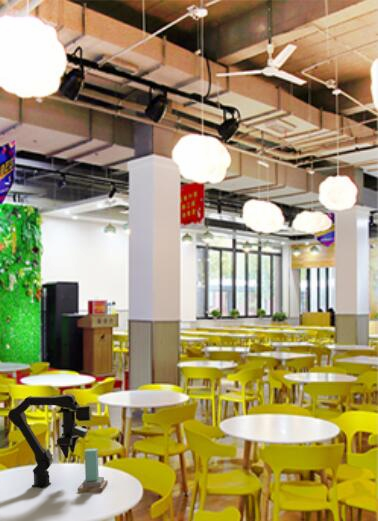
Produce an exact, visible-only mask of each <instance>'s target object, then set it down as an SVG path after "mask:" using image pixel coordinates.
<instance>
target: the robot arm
mask: <svg viewBox="0 0 378 521" xmlns="http://www.w3.org/2000/svg"><path fill="white" fill-rule="evenodd" d="M31 406H57V407H59V408H60V409H59V410H58V411H57V413H58V414H59V413H60V414H62V424H61V428H62V433H61V436H59V437H58V438H57V440H56V444H57V445H58V447H59V448H60V450H61V453H62V454H63V456H64V458H65V459H68V458H69V453H70V452H71V454H74V453H75V449H76V445H77V441H78V439H79V438H81V439H84V438H85V437H87V435H88V434H87V433H88V432H89V431H88V426H87V424H86V425H85V424H82V426H79V425H78V423H77V422H76V420H77V421H78V422H89V421H91V420H92V411H91V405H86V406H80V404H79V403H78V402H77V401H76V397H75V395H74V394H72V393H66V394H61V395H56V396H53V395H52V396H33V395H32V396H31V395H28V396H26V397H25V398H24V400H23V401H22V402H20V404H18V405H17V406H15V407H13V408H12V409H11V410H9V412H8V414H7V417H8V419H9V421H10V422H11V423H12V424H13V425H14V426H16V427H17V428H18V430H19V431H20V433H21V434H22V437H24V439H25V441H26V443H27V444H28V446H29V448H30V449H31V450H32V452H33V454H34V458H35V463H36V466H35V467H34V468H33V470H32V472H33V484H32V485H31V487H34V488H43V489H44V488H46V487H47V486H50V485H51V484H52V482H50V473H49V472H50V471H49V470H48V469H49V468H50V467H51V465H52V464H53V462H54V458H53V456H54V455H53V454H52V453H51V451H50V449H49V448H46V449H45V448H43V446H42V444H41V442H40V441H39V440H38V438H37V436H36V434H35V433H34V431H33V430H32V428H31V426H30V425H29V423H28V420H27V415H26V413H25V412H26V411H27V410H28V409H29V408H30V407H31ZM69 451H70V452H69Z"/></svg>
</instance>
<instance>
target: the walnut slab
mask: <svg viewBox="0 0 378 521" xmlns="http://www.w3.org/2000/svg"><path fill="white" fill-rule="evenodd" d="M108 481H109V480H106V479H104V482H103V484H102V486H101V487H83V482H82V483H81V484H80V485H79V486H78V487H77V493H103V492H104V490H105V489H106V487H107V486H108V485H107V484H109V482H108Z"/></svg>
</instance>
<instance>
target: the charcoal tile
mask: <svg viewBox="0 0 378 521" xmlns="http://www.w3.org/2000/svg"><path fill="white" fill-rule="evenodd" d="M104 480H105V478H104V476H99V478H98V479H97V480H96V481H86V478H85V479H84V480H83V482H82V483H83V487H101V486H102V484H103V482H104Z"/></svg>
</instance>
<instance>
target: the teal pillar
mask: <svg viewBox="0 0 378 521" xmlns="http://www.w3.org/2000/svg"><path fill="white" fill-rule="evenodd" d="M98 449H99V448H97V447H96V448H86V449H85V450H84V466H85V467H84V468H85V469H84V470H85V473H84V474H85V479H86V481H96V480H97V479H98V478H99V477H100V475H99V455H98V454H99V453H98V452H99V451H98Z"/></svg>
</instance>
